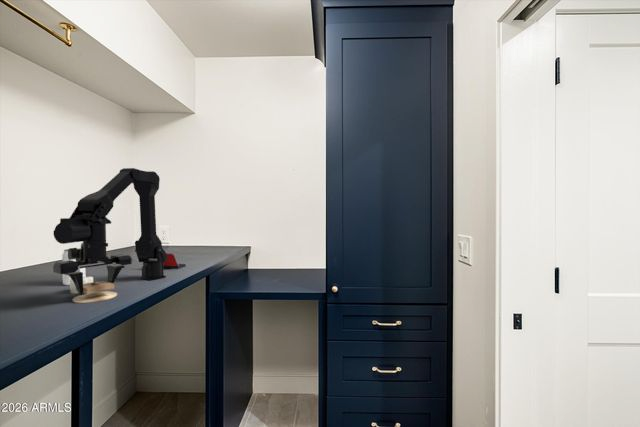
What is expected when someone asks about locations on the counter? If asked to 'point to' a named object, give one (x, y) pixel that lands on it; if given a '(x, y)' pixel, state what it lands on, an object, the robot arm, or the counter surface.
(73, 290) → the white short cylinder
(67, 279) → the can
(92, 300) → the disc
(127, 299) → the counter surface
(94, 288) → the lid
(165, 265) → the red cap
